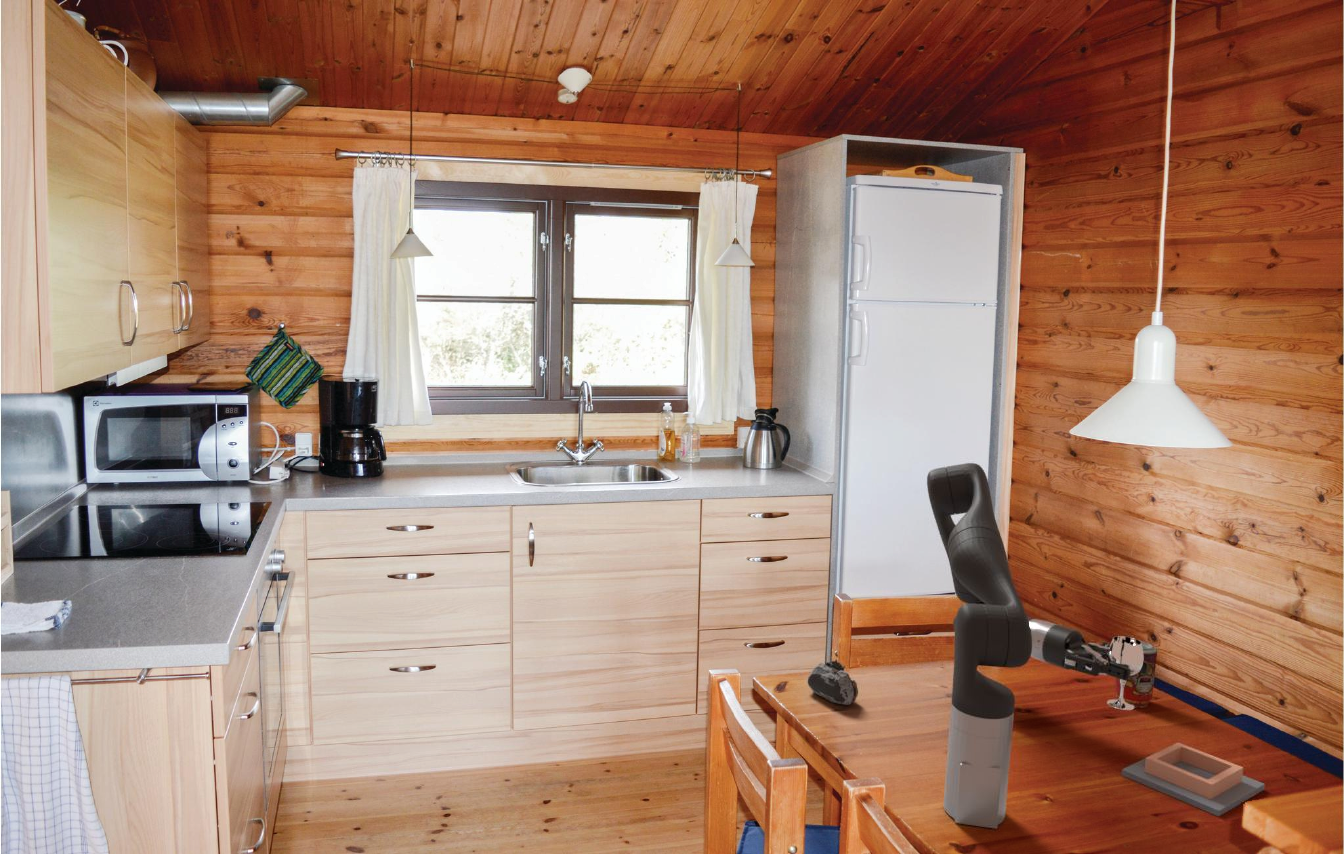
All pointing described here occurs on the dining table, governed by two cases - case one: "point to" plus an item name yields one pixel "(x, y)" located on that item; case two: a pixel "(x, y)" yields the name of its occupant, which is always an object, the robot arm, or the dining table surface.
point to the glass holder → (1195, 778)
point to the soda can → (1140, 681)
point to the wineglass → (1125, 663)
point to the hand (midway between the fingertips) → (1138, 671)
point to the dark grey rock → (833, 683)
